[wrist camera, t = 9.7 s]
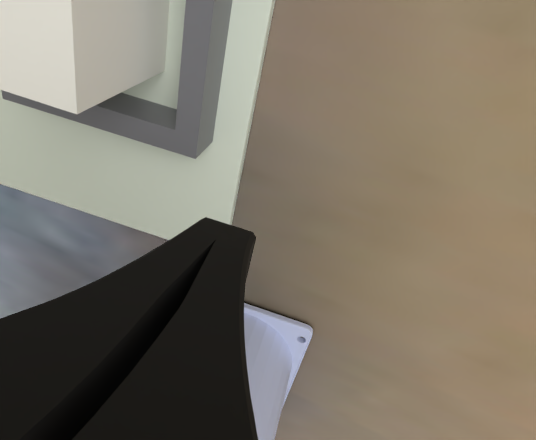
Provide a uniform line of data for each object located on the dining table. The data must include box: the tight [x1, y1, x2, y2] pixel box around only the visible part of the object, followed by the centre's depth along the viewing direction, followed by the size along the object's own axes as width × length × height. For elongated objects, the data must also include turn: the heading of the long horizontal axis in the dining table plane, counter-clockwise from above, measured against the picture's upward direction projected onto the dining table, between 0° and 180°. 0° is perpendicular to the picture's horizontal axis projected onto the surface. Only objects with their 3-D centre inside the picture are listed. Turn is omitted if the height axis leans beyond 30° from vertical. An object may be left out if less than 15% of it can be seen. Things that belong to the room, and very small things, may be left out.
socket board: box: [0, 0, 275, 240], centre depth 18 cm, size 16×14×2 cm
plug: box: [0, 0, 170, 114], centre depth 14 cm, size 5×4×6 cm
